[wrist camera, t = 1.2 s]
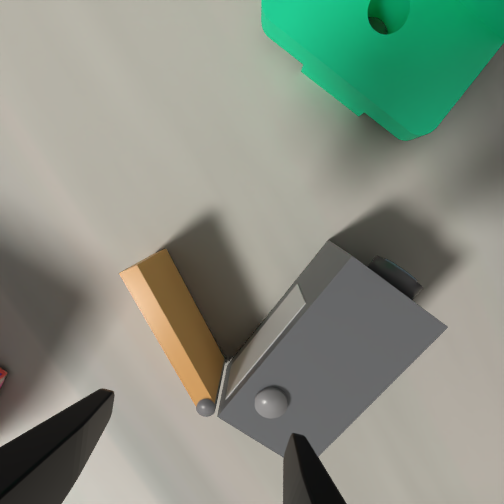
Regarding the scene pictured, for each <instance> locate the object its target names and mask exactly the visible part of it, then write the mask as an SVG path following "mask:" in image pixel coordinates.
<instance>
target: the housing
mask: <svg viewBox="0 0 504 504" xmlns="http://www.w3.org/2000/svg"><path fill="white" fill-rule="evenodd" d="M422 289H423V287H422V286H421V285H420V284H419V283H418V282H417V280H416V279H415V278H414V277H413V276H412V275H410V274H409V273H408V272H406V271H405V270H403V269H402V268H400V267H399V266H397V265H396V264H394V263H393V262H391V261H389V260H388V259H383V258H381V257H379V256H376V257H375V258H374V260H373V261H372V262H371V263H370V264H369V265H368V267H367V266H365V265H364V264H363V263H361V262H360V261H359V260H357V259H356V258H354V257H353V256H352V255H350V254H349V253H347V252H346V251H344V250H343V249H341V248H340V247H338V246H337V245H335V244H334V243H333V242H331V241H330V240H328V241H327V242H326V243H325V245H324V246H323V247H322V248H321V250H320V251H319V252H318V253H317V255H316V256H315V257H314V258H313V260H312V261H311V262H310V263H309V265H308V266H307V267H306V268H305V270H304V271H303V272H302V273H301V275H300V276H299V277H298V278H297V280H296V281H295V282H294V283H293V284H292V286H291V287H290V288H289V289H288V291H287V292H286V293H285V294H284V296H283V297H282V298H281V299H280V301H279V302H278V303H277V304H276V306H275V307H274V308H273V309H272V311H271V312H270V313H269V314H268V316H267V317H266V318H265V319H264V321H263V322H262V323H261V324H260V325H259V327H258V328H257V329H256V330H255V332H254V333H253V334H252V335H251V337H250V338H249V339H248V340H247V342H246V343H245V344H244V345H243V347H242V348H241V349H240V350H239V352H238V353H237V354H236V355H235V357H234V358H233V359H232V360H231V362H230V363H229V364H228V365H227V369H226V375H225V380H224V385H223V390H222V395H221V400H220V405H219V411H218V416H217V417H219V418H220V419H222V420H224V421H225V422H227V423H228V424H230V425H232V426H233V427H235V428H237V429H238V430H240V431H241V432H243V433H245V434H246V435H248V436H250V437H251V438H253V439H254V440H256V441H258V442H259V443H261V444H262V445H264V446H266V447H267V448H269V449H271V450H272V451H274V452H275V453H277V454H279V455H280V456H282V457H284V453H285V450H286V447H287V444H288V441H289V438H290V436H291V434H292V433H297V434H301V435H304V436H305V437H306V438H307V440H308V441H309V443H310V445H311V446H312V448H313V449H314V451H315V453H316V454H317V456H319V455H320V454H321V453H322V452H323V451H324V450H325V449H326V448H327V447H328V446H329V445H330V444H331V443H333V442H334V441H335V440H336V439H337V438H338V437H339V436H340V435H341V434H342V433H343V432H344V431H345V430H346V429H347V428H348V427H349V426H350V425H351V424H352V423H353V422H354V421H355V420H356V419H357V418H358V417H359V416H360V415H361V414H362V413H363V412H364V411H365V410H366V409H367V408H368V407H369V406H370V405H371V404H372V403H373V402H374V401H375V400H376V399H377V398H378V397H379V396H380V395H381V394H382V393H383V392H384V391H385V390H386V389H387V388H388V387H389V386H390V385H391V384H392V383H393V382H394V381H395V380H396V379H397V378H398V377H399V376H400V375H401V374H402V373H403V372H404V371H405V370H406V369H407V368H408V367H409V366H410V365H411V364H412V363H413V362H414V361H415V360H416V359H417V358H418V357H419V356H420V355H421V354H422V353H423V352H424V351H425V350H426V349H427V348H428V347H429V346H430V345H431V344H432V343H433V342H434V341H435V340H436V339H437V338H438V337H439V336H440V335H441V334H442V333H443V332H444V331H445V330H446V329H447V328H448V327H447V326H446V325H445V324H443V323H442V322H441V321H439V320H438V319H437V318H435V317H434V316H433V315H431V314H430V313H428V312H427V311H426V310H424V309H423V308H422V307H420V306H419V305H418V304H416V303H415V302H414V301H412V300H413V299H414V298H415V297H416V296H417V294H418V293H419V292H420V291H421V290H422Z"/></svg>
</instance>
